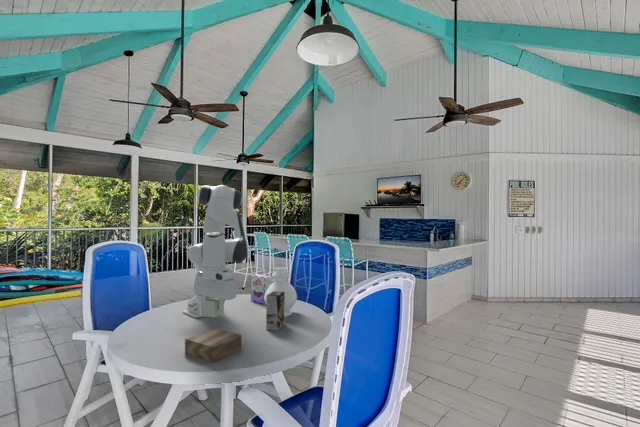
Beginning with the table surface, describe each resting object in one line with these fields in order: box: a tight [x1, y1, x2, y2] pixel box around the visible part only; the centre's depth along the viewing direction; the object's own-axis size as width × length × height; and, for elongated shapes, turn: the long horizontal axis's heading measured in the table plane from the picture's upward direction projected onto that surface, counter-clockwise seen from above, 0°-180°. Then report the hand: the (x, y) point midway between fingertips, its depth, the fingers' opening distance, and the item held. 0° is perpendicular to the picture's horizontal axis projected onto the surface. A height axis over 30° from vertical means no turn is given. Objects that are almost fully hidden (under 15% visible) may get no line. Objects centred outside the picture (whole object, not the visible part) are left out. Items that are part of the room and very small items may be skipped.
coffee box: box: [265, 292, 285, 331], centre depth 151 cm, size 9×6×16 cm
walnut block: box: [184, 327, 242, 364], centre depth 124 cm, size 16×14×6 cm
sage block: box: [205, 298, 225, 318], centre depth 124 cm, size 5×5×6 cm
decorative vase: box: [264, 266, 298, 318], centre depth 172 cm, size 18×18×25 cm
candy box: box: [250, 273, 273, 305], centre depth 196 cm, size 14×6×16 cm, turn 50°
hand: (214, 308), depth 124 cm, fingers closed on sage block, 5 cm apart
